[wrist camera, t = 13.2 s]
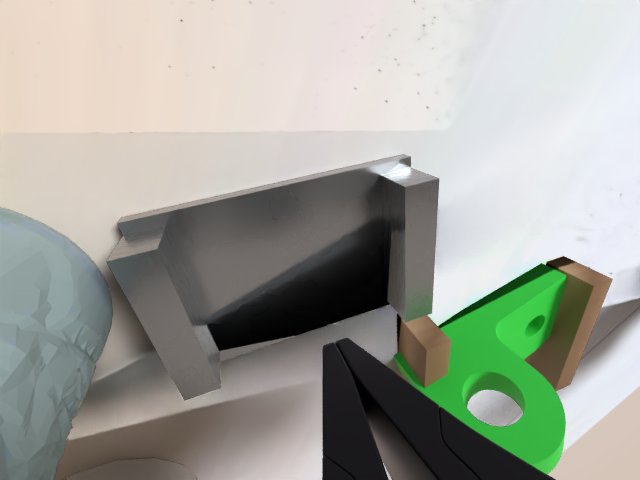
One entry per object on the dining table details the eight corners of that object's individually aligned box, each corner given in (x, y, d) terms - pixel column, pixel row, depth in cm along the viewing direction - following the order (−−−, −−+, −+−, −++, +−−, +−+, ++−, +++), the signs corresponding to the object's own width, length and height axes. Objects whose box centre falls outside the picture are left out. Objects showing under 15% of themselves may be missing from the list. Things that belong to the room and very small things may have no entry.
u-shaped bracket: (403, 154, 14) (439, 166, 12) (403, 291, 18) (431, 320, 15) (121, 217, 11) (98, 247, 9) (192, 361, 15) (188, 407, 13)
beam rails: (563, 256, 21) (612, 279, 18) (534, 355, 26) (570, 384, 23) (396, 313, 18) (426, 350, 16) (398, 412, 23) (421, 453, 20)
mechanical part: (413, 400, 22) (507, 531, 16) (393, 355, 19) (500, 494, 13) (535, 315, 24) (670, 401, 17) (536, 260, 21) (700, 339, 14)
